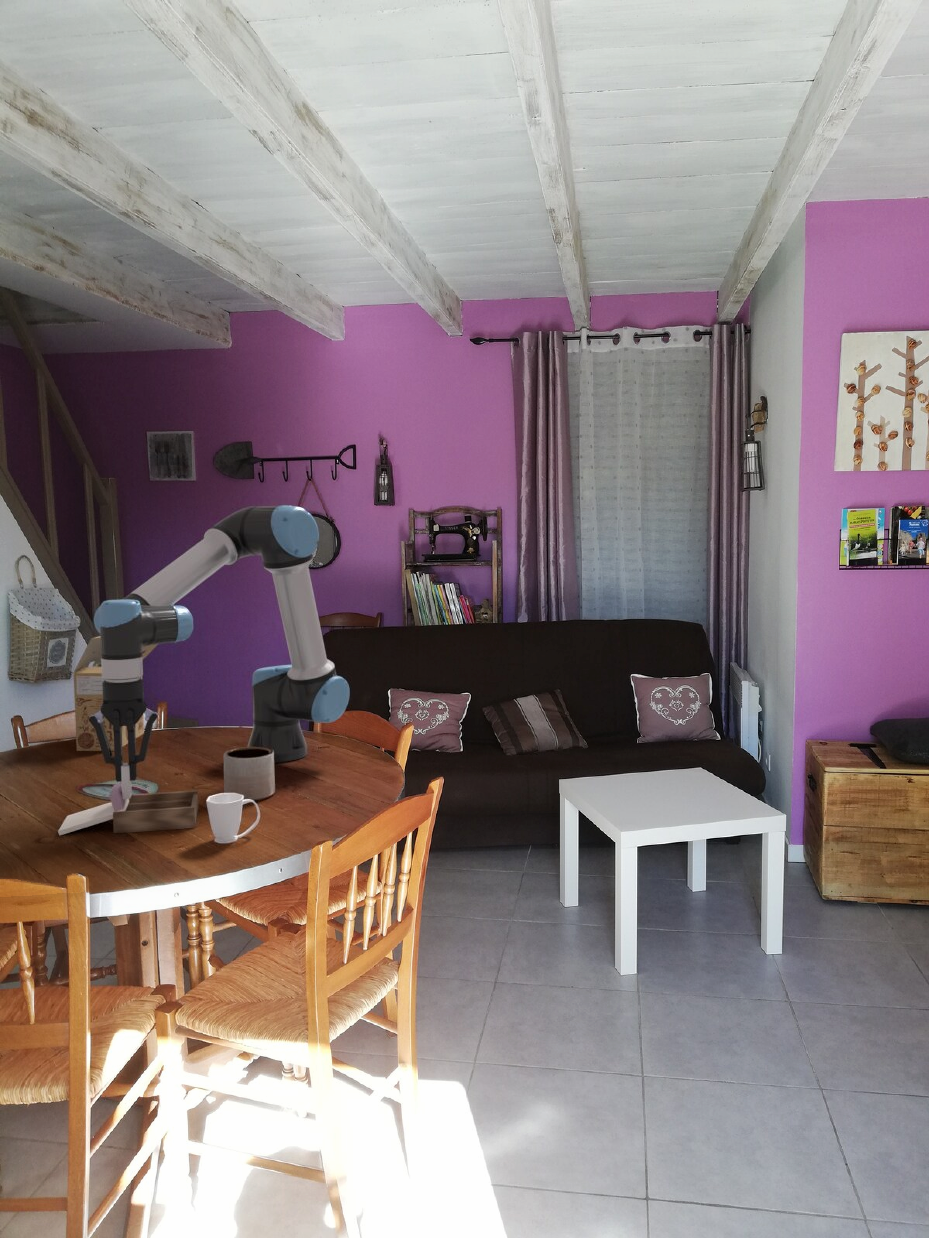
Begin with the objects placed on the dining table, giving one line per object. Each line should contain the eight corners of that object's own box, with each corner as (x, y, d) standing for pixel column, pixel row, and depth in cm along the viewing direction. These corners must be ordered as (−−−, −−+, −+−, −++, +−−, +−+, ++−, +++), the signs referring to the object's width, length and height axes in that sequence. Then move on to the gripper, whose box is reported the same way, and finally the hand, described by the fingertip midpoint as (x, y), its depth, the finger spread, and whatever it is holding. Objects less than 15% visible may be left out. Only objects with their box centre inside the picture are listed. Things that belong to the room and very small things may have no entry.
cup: (203, 836, 174) (201, 795, 173) (255, 828, 179) (254, 788, 178) (211, 848, 168) (210, 805, 167) (265, 839, 173) (264, 797, 172)
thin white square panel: (129, 800, 186) (122, 780, 186) (123, 815, 177) (116, 794, 176) (68, 819, 184) (61, 799, 183) (59, 835, 175) (52, 814, 174)
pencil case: (198, 809, 191) (197, 790, 191) (195, 827, 179) (194, 807, 179) (121, 814, 188) (121, 795, 187) (113, 833, 176) (112, 813, 176)
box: (143, 751, 240) (139, 637, 237) (68, 750, 240) (63, 637, 237) (169, 733, 261) (166, 628, 258) (100, 733, 261) (96, 628, 258)
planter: (284, 790, 205) (283, 748, 204) (258, 804, 194) (257, 760, 193) (242, 786, 208) (241, 744, 207) (214, 799, 198) (212, 756, 197)
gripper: (159, 674, 184) (163, 789, 187) (90, 677, 181) (94, 793, 184) (156, 680, 177) (159, 800, 179) (83, 683, 174) (88, 804, 176)
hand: (127, 796), depth 182 cm, fingers closed
